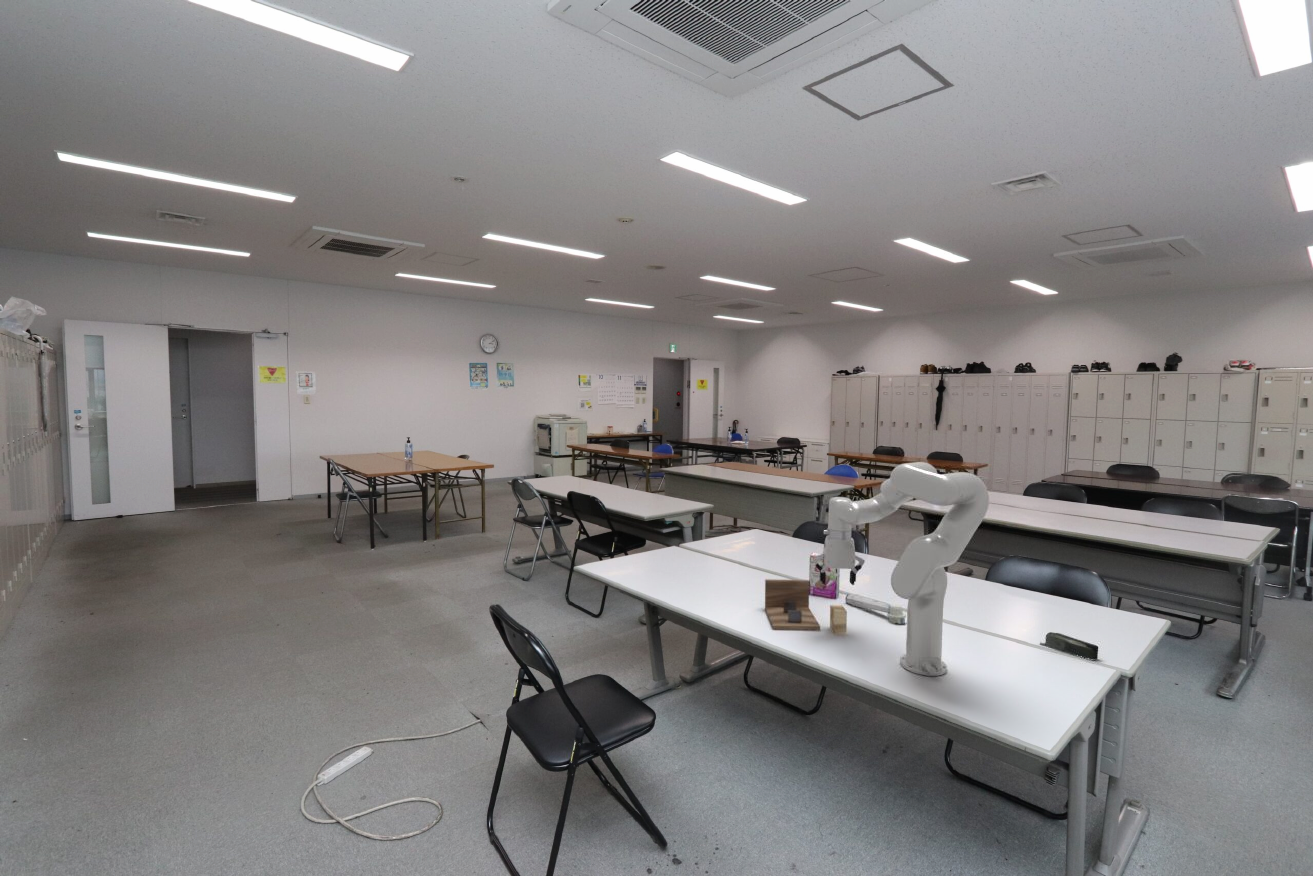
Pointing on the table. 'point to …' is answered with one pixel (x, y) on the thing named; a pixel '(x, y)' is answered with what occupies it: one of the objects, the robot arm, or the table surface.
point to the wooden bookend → (789, 605)
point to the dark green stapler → (1071, 645)
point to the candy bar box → (817, 586)
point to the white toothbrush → (878, 607)
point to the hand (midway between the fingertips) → (837, 583)
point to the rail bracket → (838, 619)
